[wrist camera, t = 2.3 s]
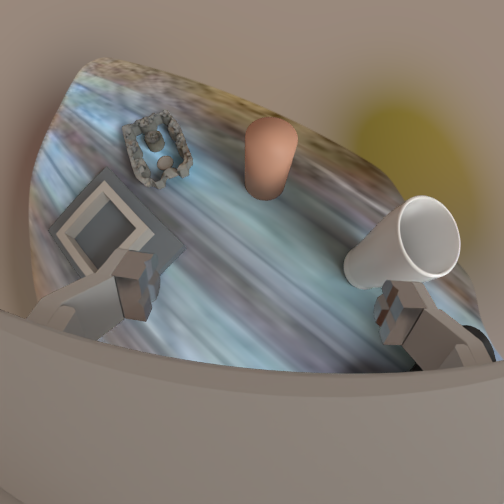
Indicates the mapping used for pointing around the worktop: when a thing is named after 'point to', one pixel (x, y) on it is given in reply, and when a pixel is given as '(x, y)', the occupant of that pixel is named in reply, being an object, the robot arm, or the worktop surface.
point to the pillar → (268, 156)
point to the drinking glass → (406, 246)
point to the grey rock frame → (156, 148)
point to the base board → (111, 227)
